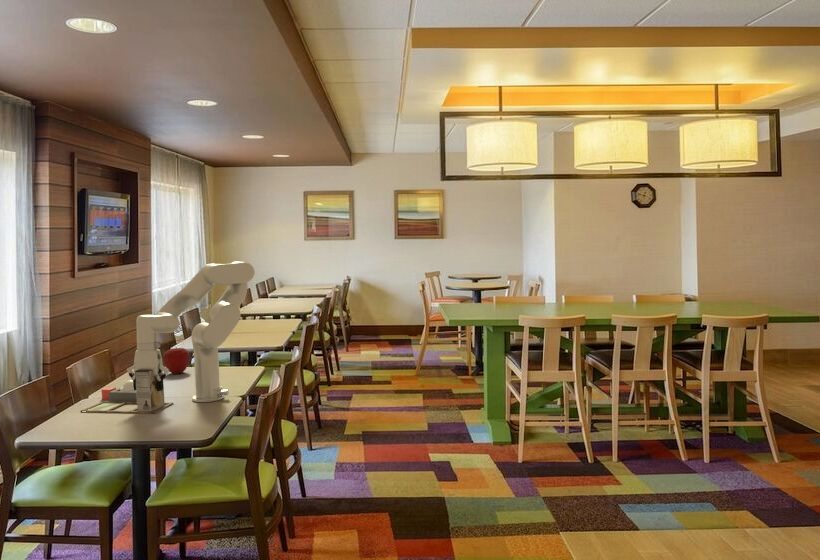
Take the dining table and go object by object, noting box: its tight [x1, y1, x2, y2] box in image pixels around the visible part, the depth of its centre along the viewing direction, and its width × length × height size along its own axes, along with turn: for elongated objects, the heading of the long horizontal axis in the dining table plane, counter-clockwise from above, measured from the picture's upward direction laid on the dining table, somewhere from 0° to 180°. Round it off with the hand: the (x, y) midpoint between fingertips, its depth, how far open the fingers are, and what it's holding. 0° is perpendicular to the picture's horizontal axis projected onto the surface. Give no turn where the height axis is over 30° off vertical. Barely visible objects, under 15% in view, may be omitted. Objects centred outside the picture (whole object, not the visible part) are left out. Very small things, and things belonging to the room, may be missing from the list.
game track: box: [80, 401, 174, 415], centre depth 258 cm, size 31×14×1 cm, turn 81°
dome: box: [119, 379, 136, 392], centre depth 274 cm, size 8×8×6 cm
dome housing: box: [108, 387, 137, 402], centre depth 274 cm, size 12×12×4 cm
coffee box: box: [135, 370, 166, 411], centre depth 256 cm, size 9×6×16 cm
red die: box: [101, 386, 117, 400], centre depth 276 cm, size 4×4×4 cm
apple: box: [162, 347, 190, 375], centre depth 323 cm, size 12×12×13 cm
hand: (148, 390), depth 256 cm, fingers open, 9 cm apart
